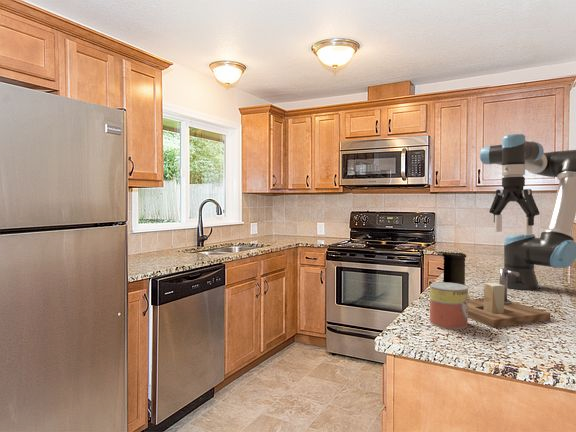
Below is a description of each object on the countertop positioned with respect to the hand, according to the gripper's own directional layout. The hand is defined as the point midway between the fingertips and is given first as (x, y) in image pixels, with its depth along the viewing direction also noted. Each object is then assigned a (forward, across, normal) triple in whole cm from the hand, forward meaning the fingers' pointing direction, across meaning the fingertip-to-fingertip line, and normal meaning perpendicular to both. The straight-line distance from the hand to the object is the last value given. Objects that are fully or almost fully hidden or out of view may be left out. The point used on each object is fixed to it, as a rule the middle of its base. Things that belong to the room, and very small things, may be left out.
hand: (512, 233), depth 153 cm
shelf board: (+26, +11, -19) cm, 34 cm away
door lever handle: (+24, +8, -11) cm, 27 cm away
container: (+26, -10, -18) cm, 34 cm away
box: (+26, +13, -21) cm, 36 cm away
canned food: (+26, +14, -40) cm, 50 cm away
